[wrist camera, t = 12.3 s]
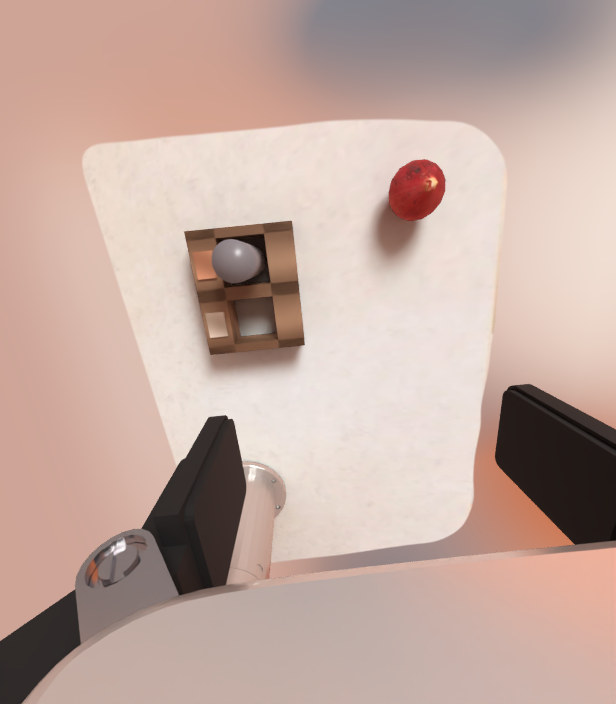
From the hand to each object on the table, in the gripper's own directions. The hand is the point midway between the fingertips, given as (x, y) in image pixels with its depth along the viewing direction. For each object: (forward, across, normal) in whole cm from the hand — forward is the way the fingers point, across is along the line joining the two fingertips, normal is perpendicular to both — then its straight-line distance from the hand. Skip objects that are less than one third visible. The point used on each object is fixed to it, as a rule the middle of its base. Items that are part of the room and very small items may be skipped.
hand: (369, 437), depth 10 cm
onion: (+31, -12, -12) cm, 35 cm away
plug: (+30, +8, -6) cm, 32 cm away
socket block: (+30, +8, -3) cm, 31 cm away
